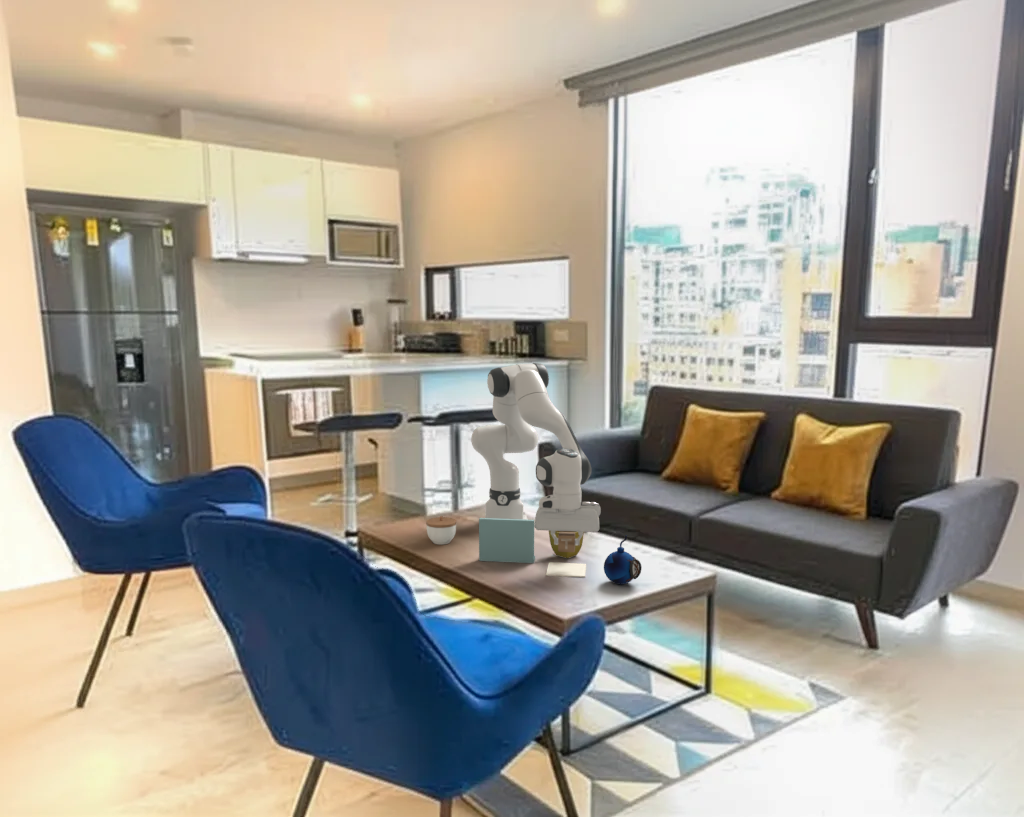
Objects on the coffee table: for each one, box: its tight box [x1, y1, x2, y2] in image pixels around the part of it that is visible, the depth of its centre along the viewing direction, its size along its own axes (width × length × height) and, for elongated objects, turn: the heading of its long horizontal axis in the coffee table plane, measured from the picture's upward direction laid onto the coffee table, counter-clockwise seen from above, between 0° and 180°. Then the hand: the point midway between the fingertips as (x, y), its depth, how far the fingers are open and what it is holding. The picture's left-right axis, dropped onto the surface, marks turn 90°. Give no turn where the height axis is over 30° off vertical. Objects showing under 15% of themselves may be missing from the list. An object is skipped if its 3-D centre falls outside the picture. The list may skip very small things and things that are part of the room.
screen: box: [478, 517, 536, 564], centre depth 241 cm, size 5×18×14 cm, turn 83°
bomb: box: [603, 535, 642, 585], centre depth 219 cm, size 10×11×15 cm
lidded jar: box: [425, 515, 457, 545], centre depth 262 cm, size 11×11×9 cm
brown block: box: [558, 532, 575, 552], centre depth 230 cm, size 5×5×5 cm
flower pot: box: [548, 531, 585, 559], centre depth 246 cm, size 9×9×9 cm
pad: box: [545, 561, 587, 578], centre depth 231 cm, size 12×12×1 cm
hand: (566, 544), depth 230 cm, fingers closed on brown block, 5 cm apart
